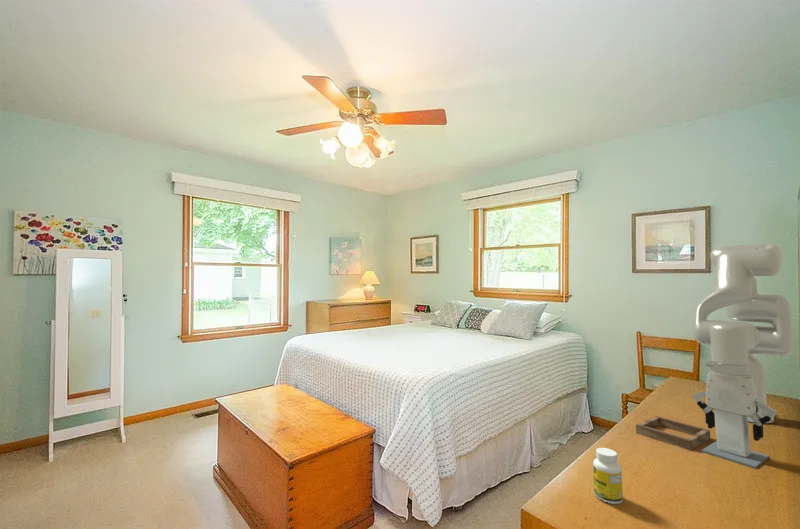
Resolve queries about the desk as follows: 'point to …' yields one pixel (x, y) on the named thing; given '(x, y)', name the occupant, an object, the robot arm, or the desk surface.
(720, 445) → the skincare box
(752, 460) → the pad
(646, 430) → the brown wooden frame
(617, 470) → the supplement bottle
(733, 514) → the desk surface
